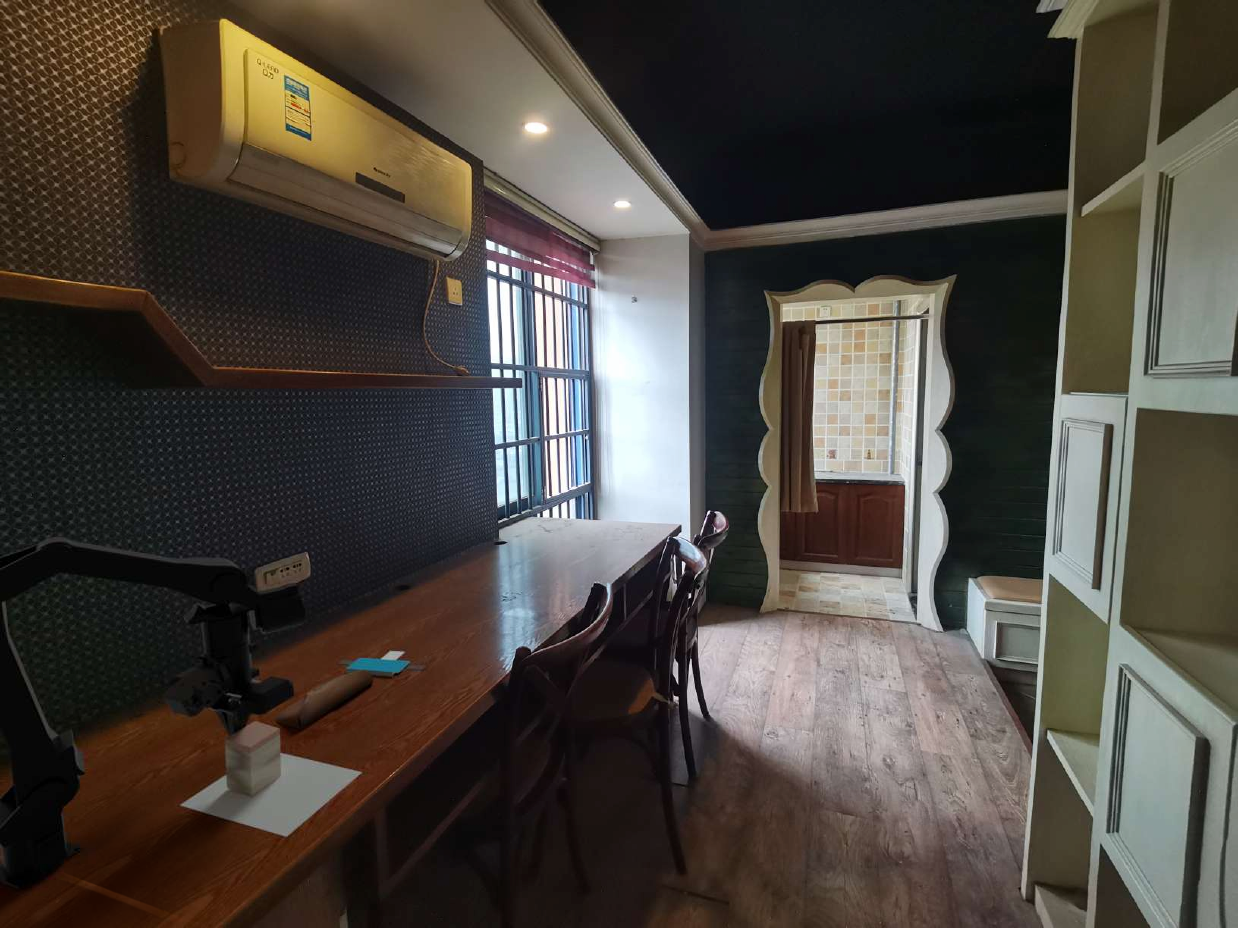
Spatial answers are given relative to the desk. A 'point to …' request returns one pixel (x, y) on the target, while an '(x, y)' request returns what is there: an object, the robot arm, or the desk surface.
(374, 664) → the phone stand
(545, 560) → the desk surface
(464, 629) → the desk surface
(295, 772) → the grey mat
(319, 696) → the sunglasses case
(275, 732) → the birch block
